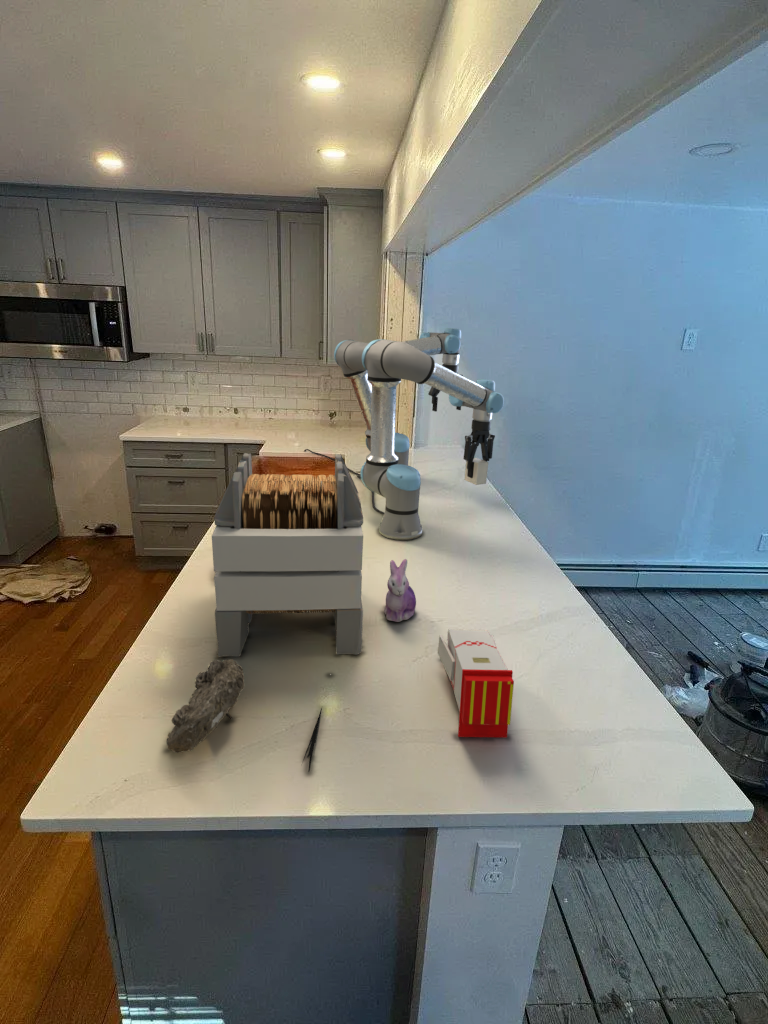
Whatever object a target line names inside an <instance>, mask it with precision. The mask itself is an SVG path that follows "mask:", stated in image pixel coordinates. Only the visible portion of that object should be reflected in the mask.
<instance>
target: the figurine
mask: <svg viewBox="0 0 768 1024" xmlns="http://www.w3.org/2000/svg"><path fill="white" fill-rule="evenodd" d="M407 567H408V559H406V558H404V559H403V560H402V561H401V563H400V565H399V566H398V565H397V563H396V562H395V561H394V560H393V559H391V560H390V561H389V570H390V576H389V578H388V579H387V589H388V591H387V592H386V594H385V595H386V596H385V607H384V615H385V616H386V620H387V621H391V622H395V623H400V622H402V621H406V620H409V619H410V618H411V617H413V616H414V615H415V610H416V606H417V597H416V593H415V591H414V590H413V587H411V586H410V582H409V579H408V577H407V574H406V571H407Z"/></svg>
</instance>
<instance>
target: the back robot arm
mask: <svg viewBox="0 0 768 1024" xmlns="http://www.w3.org/2000/svg"><path fill="white" fill-rule="evenodd" d="M401 342H404V343H407V344H409V345H411V346H413V347H415V348H417V349H419V350H420V351H422V352H424V353H425V354H427V355H429V356H431V357H432V356H436V355H442V358H441V360H442V361H441V362H442V364H441V366H443V367H445V368H447V369H449V370H451V371H453V372H455V373H457V374H459V375H461V376H463V377H464V375H463V374H460V373H459V363H460V354H461V353H460V351H461V342H462V329H460V328H451V327H449V328H448V327H447V328H444V332H432V331H431V332H430V331H428V332H422V333H421V334H420V336H419V338H415V339H408V340H403V341H401ZM369 343H370V342H363V341H358V340H354V339H345V340H342V341H340V342H339V343H338V344H337V345H336V346H335V348H334V352H333V359H334V361H335V363H336V364H337V365H338V366H339V367H340V369H341V372H342V374H343V377H344V378H346V379H347V380H349V383H350V386H351V389H352V391H353V394H354V397H355V400H356V402H357V405H358V408H359V411H360V414H361V416H362V419H363V422H364V424H365V428H366V429H365V432H364V435H365V446H366V448H367V450H368V451H369V453H370V452H371V397H372V385H371V384H370V383H369V382H368V381H367V372H368V371H367V370H366V369H365V368H364V367H363V364H362V354H363V351H364V349H365V347H366V346H367V345H368V344H369ZM440 393H441V391H440V390H438V389H436V388H434V387H432V386H430V390H429V391H428V395H427V396H431V404H432V412H437V413H438V402H439V397H438V395H439V394H440ZM455 409H456V410H457V411H461V410H462V406H461V407H459V406H455ZM410 447H411V446H410V438H409V437H408V435H406V434H404V433H400V432H396V431H395V447H394V453H395V455H396V456H397V457H398V464H403V465H406V466H409V456H410ZM306 451H308V452H309V453H311V454H314V455H318V456H322V457H324V458H327V459H330V460H332V461H334V462H335V458H334V457H331V456H329V455H325V454H323V453H318V452H316V451H313V450H311V449H310V448H309V449H308V448H305V449H304V450H303V452H306ZM347 469H348V471H349V472H351V473H353V474H354V475H357V476H360V473H358V472H355V471H354V470H352V469H350V468H349V467H347ZM360 477H361V476H360Z"/></svg>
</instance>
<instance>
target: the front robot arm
mask: <svg viewBox="0 0 768 1024" xmlns="http://www.w3.org/2000/svg"><path fill="white" fill-rule="evenodd" d="M368 343H369V344H368V345H367V346H366V347H365V349H364V351H363V354H362V364H363V367H364V368H365V369H366V370H367V371H368V372H367V381H368V382H369V383H370V384H371V385H372V397H371V452H370V451H369V454H367V455H366V456H365V457H366V458H365V461H364V463H363V465H362V466H361V469H360V472H359V474H360V476H359V475H357V476H356V477H357V479H359V480H361V483H362V484H363V486H364V487H365V488H367V489H368V490H369V491H371V504H372V508H373V510H374V511H375V512H376V513H378V514H381V515H382V519H381V522H379V526H378V533H379V534H380V535H381V536H382V537H385V538H387V539H389V540H395V541H410V540H415V539H418V538H420V537H421V536H422V535H423V525H422V524H421V518H420V515H419V507H420V506H419V505H420V496H421V495H420V494H421V484H422V483H421V482H422V481H421V473H420V471H419V470H418V469H417V468H416V467H413V466H411V465H408V466H406V465H403V464H398V457H397V456H396V455H395V453H394V447H395V432H396V415H397V409H396V408H397V387H398V385H400V383H401V382H402V380H404V381H411V382H413V383H416V384H418V385H424V384H425V385H427V386H429V387H434V388H436V389H438V390H440V392H443V393H445V394H447V395H448V401H449V403H450V405H451V406H453V407H456V406H459V407H461V408H462V407H466V408H470V409H472V410H473V411H472V416H471V417H472V420H471V432H470V434H469V435H465V436H464V440H465V442H464V451H463V460H464V461H465V462H466V461H467V469H468V474H467V476H468V477H470V478H473V470H474V462H473V459H474V458H475V455H476V452H477V451H478V450H477V449H478V447H479V446H480V450H481V460H484V461H487V462H490V460H491V459H492V458H493V451H494V441H495V438H496V435H495V434H493V433H491V432H490V431H491V428H492V421H491V420H492V419H493V414H498V413H499V412H501V410H503V407H504V405H505V398H504V395H503V394H502V393H500V392H497V391H496V382H495V381H494V380H493V379H486V378H485V379H484V378H481V379H477V380H476V382H475V381H473V380H470V379H469V378H468V377H465V376H464V375H463V376H461V375H462V374H461V375H459V374H460V373H455V372H453V371H451V370H449V369H447V368H445V367H443V366H442V364H439V363H438V362H436V360H435V359H434V357H433V356H432V355H431V356H429V355H427V354H425V353H424V352H422V351H420V350H419V349H417V348H415V347H413V346H411V345H409V344H407V343H404V342H402V341H400V340H399V341H397V340H391V339H384V338H381V339H380V338H379V339H373V340H371V341H370V342H368ZM375 494H378V495H379V496H380V497H383V498H385V504H384V505H385V507H384V508H385V509H384V511H382V510H380V509H378V508H377V507H376V503H375Z"/></svg>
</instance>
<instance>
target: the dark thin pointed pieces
mask: <svg viewBox="0 0 768 1024" xmlns="http://www.w3.org/2000/svg"><path fill="white" fill-rule="evenodd" d="M329 675H330V676H331V675H332V674H331V673H330V674H329ZM322 710H323V707H321V708H320V710H319V713H318V716H317V719H316V723H315V725H314V728H313V731H312V733H311V737H310V739H309V742H308V745H307V748H306V751H305V754H304V757H303V760H302V763H301V767H302V765H303V763H304V761H305V758H308V759H309V760H308V762H307V763H308V764H307V766H308V771H310V770H311V766H312V765H311V764H312V760H313V757H315V756H314V755H315V751H316V749H315V746H317V739H318V733H319V729H320V722H321V717H322V712H323V711H322ZM313 754H314V755H313ZM306 755H307V757H306Z"/></svg>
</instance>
